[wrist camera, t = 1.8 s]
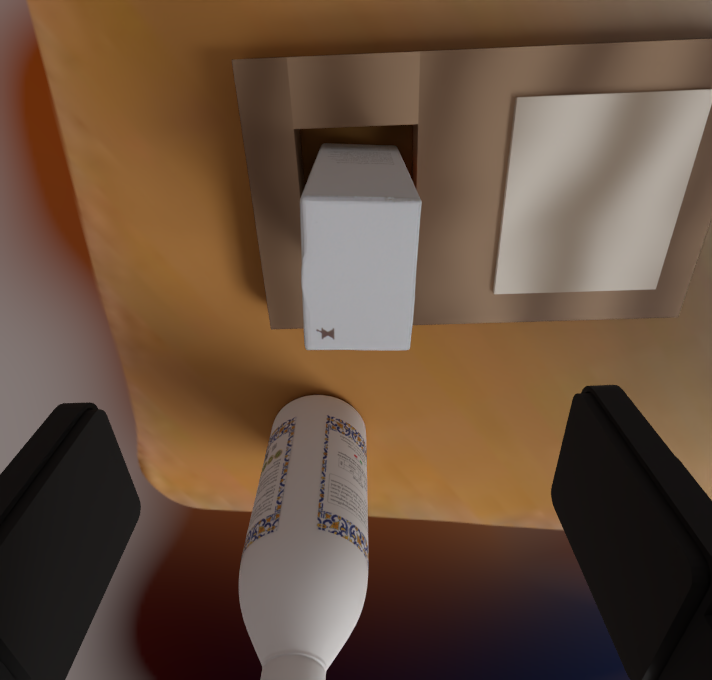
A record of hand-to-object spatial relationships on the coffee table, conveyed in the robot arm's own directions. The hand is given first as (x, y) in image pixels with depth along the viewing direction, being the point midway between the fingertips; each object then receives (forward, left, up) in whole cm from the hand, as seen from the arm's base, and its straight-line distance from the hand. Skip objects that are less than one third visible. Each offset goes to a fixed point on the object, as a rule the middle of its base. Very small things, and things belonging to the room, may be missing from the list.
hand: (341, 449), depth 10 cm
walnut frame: (-7, 0, -20) cm, 21 cm away
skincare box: (0, 0, -21) cm, 21 cm away
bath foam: (+3, +17, -21) cm, 27 cm away
